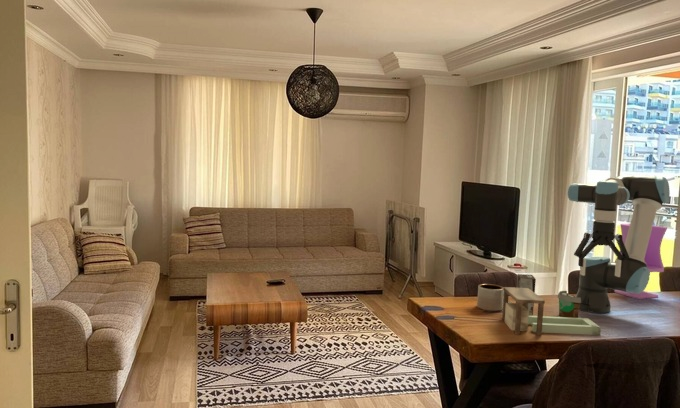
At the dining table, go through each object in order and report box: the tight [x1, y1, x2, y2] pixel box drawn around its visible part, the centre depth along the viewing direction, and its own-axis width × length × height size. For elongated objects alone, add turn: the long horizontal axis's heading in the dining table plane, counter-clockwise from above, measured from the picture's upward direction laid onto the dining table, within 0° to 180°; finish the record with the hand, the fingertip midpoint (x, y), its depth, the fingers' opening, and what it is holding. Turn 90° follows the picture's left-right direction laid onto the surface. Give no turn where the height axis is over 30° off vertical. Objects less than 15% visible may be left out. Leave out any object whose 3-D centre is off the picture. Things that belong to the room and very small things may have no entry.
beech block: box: [504, 302, 529, 332], centre depth 210 cm, size 6×10×8 cm, turn 178°
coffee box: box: [515, 273, 536, 316], centre depth 228 cm, size 9×6×16 cm
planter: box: [476, 283, 504, 312], centre depth 235 cm, size 11×11×10 cm
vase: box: [614, 223, 668, 300], centre depth 269 cm, size 16×16×35 cm
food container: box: [556, 290, 581, 318], centre depth 225 cm, size 12×6×10 cm, turn 5°
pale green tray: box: [528, 315, 602, 336], centre depth 210 cm, size 25×12×3 cm, turn 88°
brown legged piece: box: [501, 286, 545, 336], centre depth 210 cm, size 10×19×13 cm, turn 178°
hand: (599, 275), depth 209 cm, fingers open, 13 cm apart
